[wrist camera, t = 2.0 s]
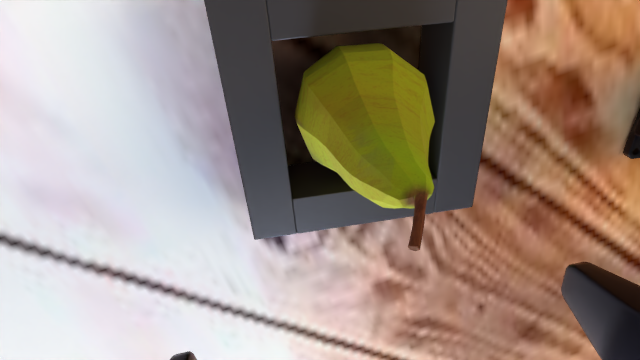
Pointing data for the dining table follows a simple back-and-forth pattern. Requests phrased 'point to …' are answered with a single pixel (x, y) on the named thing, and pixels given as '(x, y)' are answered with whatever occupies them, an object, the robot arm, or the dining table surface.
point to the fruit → (371, 126)
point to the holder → (314, 178)
